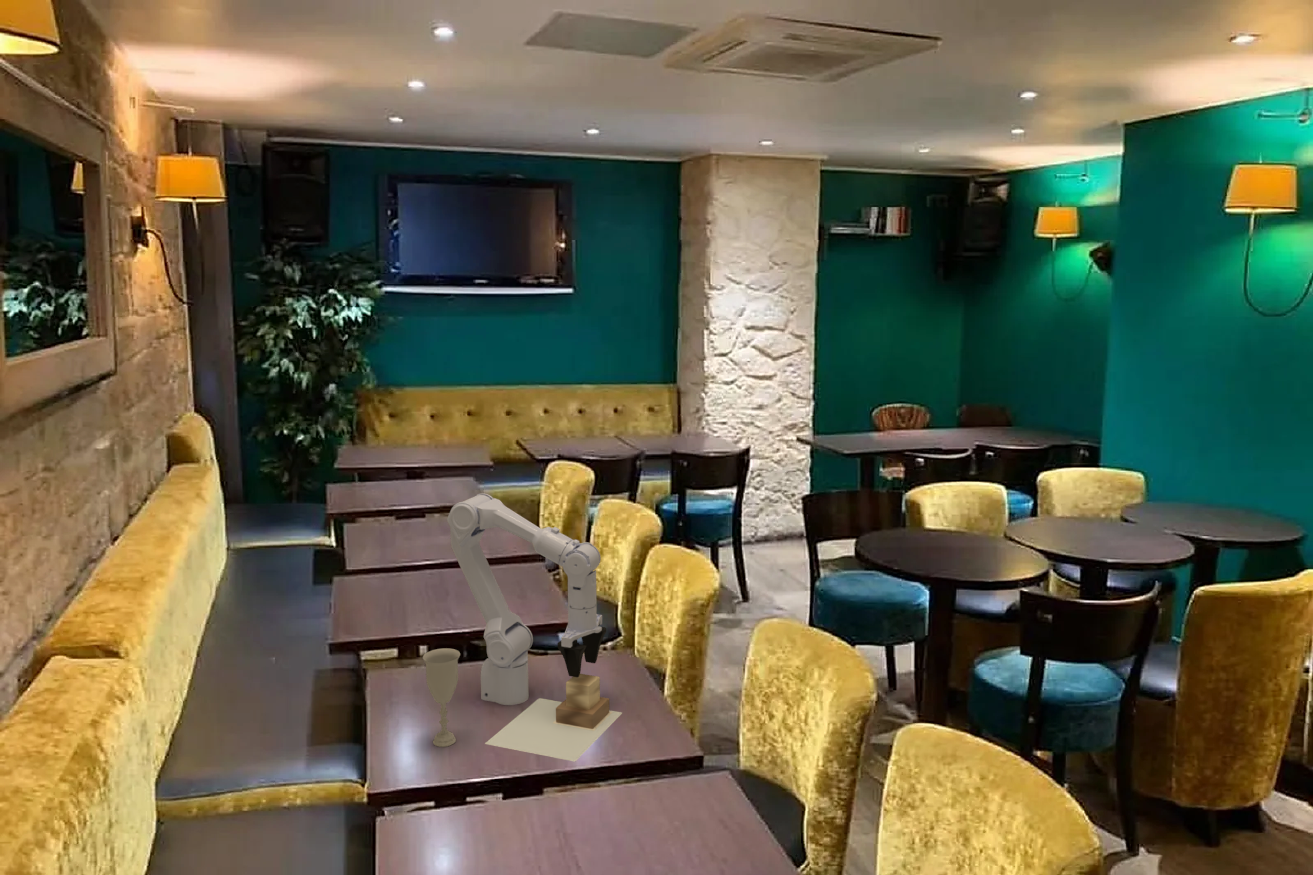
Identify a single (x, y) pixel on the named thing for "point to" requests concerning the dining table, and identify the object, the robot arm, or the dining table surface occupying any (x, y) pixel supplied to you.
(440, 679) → the chalice
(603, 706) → the walnut slab
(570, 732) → the plain cream board
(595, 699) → the light wooden cube
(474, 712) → the dining table surface
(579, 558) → the robot arm
